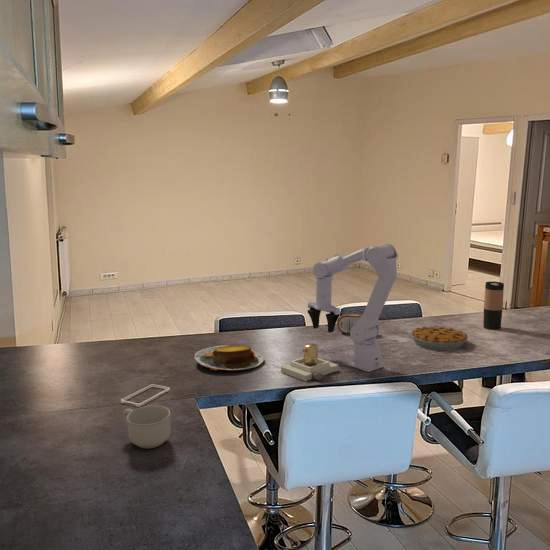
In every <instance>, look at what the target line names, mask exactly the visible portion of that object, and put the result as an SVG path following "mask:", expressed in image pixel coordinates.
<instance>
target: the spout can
mask: <svg viewBox="0 0 550 550" xmlns="http://www.w3.org/2000/svg"><path fill="white" fill-rule="evenodd" d="M302 347H303V348H302V353H303V354H302V358H303V365H305V366H308V367H312V366H315V365H318V358H319V345H318V344H317V343H314V342H313V343H310V342H309V343H304V344H303V346H302Z"/></svg>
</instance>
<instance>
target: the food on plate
mask: <svg viewBox="0 0 550 550" xmlns="http://www.w3.org/2000/svg"><path fill="white" fill-rule="evenodd" d="M194 360H195V361H196V362H197V363H198V364H200V365H201V366H202V367H205V368H207V369H208V368H209V370H212V371H218V370H219V371H221V370H222V371H223V370H224V371H242V370H247V369H248V370H249V369H252V368H256V367H258V366H260V365H261V364H262V363H264V361H265V357H264V356H263V355H262V354H260V352H257V351H255V350H253V349H252V348H251V346H250V345H240V346H239V345H217V346H215V345H214V346H211V347H210V346H209V347H206V348H202V349H201V350H199V351H196V353H194ZM242 367H243V368H242ZM237 368H238V369H237Z"/></svg>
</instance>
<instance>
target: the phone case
mask: <svg viewBox="0 0 550 550" xmlns="http://www.w3.org/2000/svg"><path fill="white" fill-rule="evenodd" d="M151 388H156V389H161V390H162V391H160V392H159V393H156V394H155V395H153V396H151V397H150V398H147V399H146V400H144V401H142V402H140V403H137V402H133V401H128V400H129V399H132V398H133V397H135V396H137V395H140V394H141V393H143V392H145V391H147V390H149V389H151ZM170 390H171V389H170V387H169V386H164V385H159V384H154V383H152V384H148V386H145V387H143V388H141V389H139V390H137V391H135V392H133V393H131V394H129V395H127V396H125V397H124V398H121V399H120V403H121V404H125V403H127V404H128V403H129V404H131V405H135V407H137V408H140V407H143V406H145V405H146V404H148V403H150V402H151V401H153V400H155V399H157V398H159V397H160V395H162V394H163V393H165V392H166V393H168V392H170Z"/></svg>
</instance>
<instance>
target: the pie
mask: <svg viewBox="0 0 550 550" xmlns="http://www.w3.org/2000/svg"><path fill="white" fill-rule="evenodd" d="M410 336H411V337H412V338H413V339H412V340H413V341H414V343H415V344H416V346H419V347H422V348H426V349H431V350H441V351H453V350H458V349H460V348H463V346H464V344H465V343H466V341H468V335H467V333H466V332H463V331H462V330H457V329H455V328H452V327H451V328H448V327H446V326H445V327H444V326H441V327H440V326H439V327H438V326H430V327H428V326H422V327H416V328H415V329H414V330H412V331H411V334H410Z"/></svg>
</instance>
